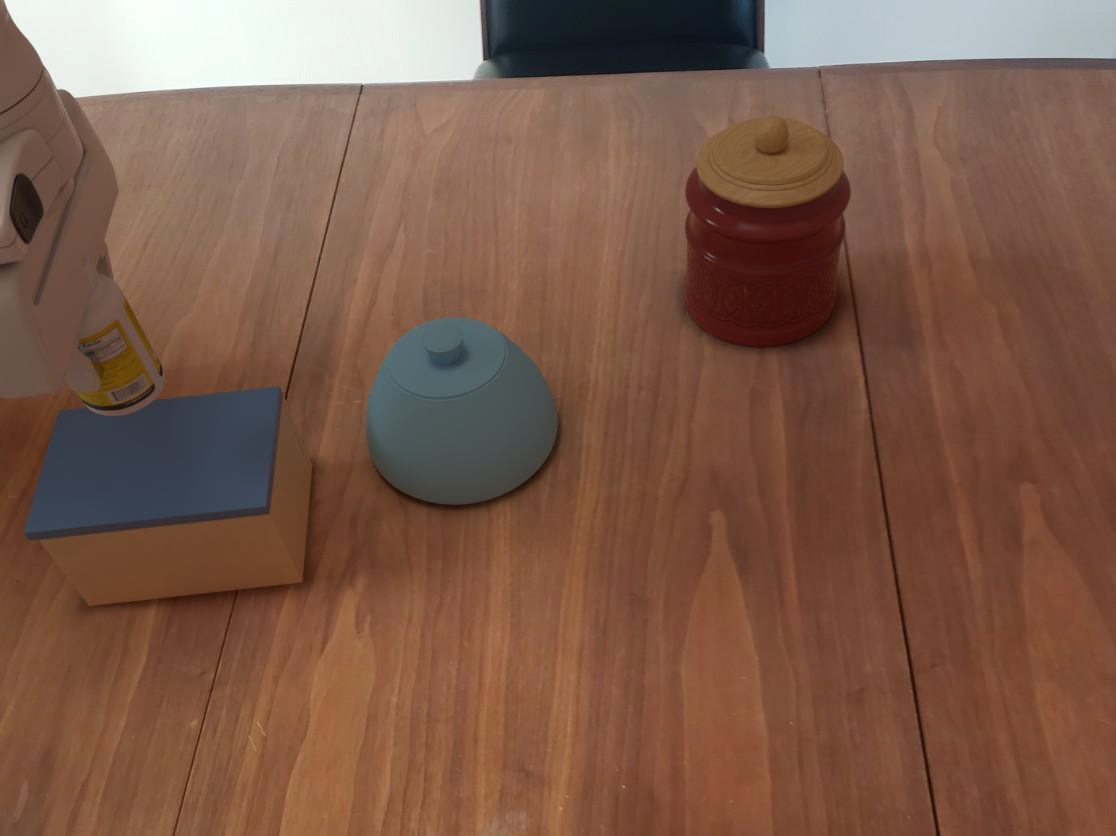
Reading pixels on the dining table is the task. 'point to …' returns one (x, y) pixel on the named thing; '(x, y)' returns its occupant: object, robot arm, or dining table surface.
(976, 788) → the dining table surface
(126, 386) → the supplement bottle
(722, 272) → the kitchen canister
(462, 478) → the sugar bowl
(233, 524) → the chest
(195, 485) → the chest lid
